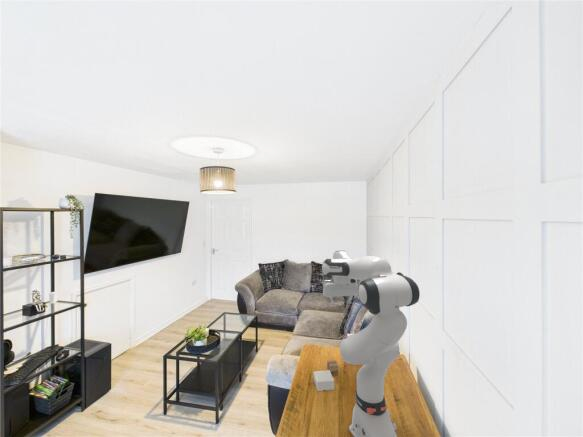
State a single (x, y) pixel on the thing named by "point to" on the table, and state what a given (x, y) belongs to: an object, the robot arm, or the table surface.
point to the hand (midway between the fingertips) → (341, 303)
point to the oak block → (332, 367)
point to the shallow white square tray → (323, 380)
